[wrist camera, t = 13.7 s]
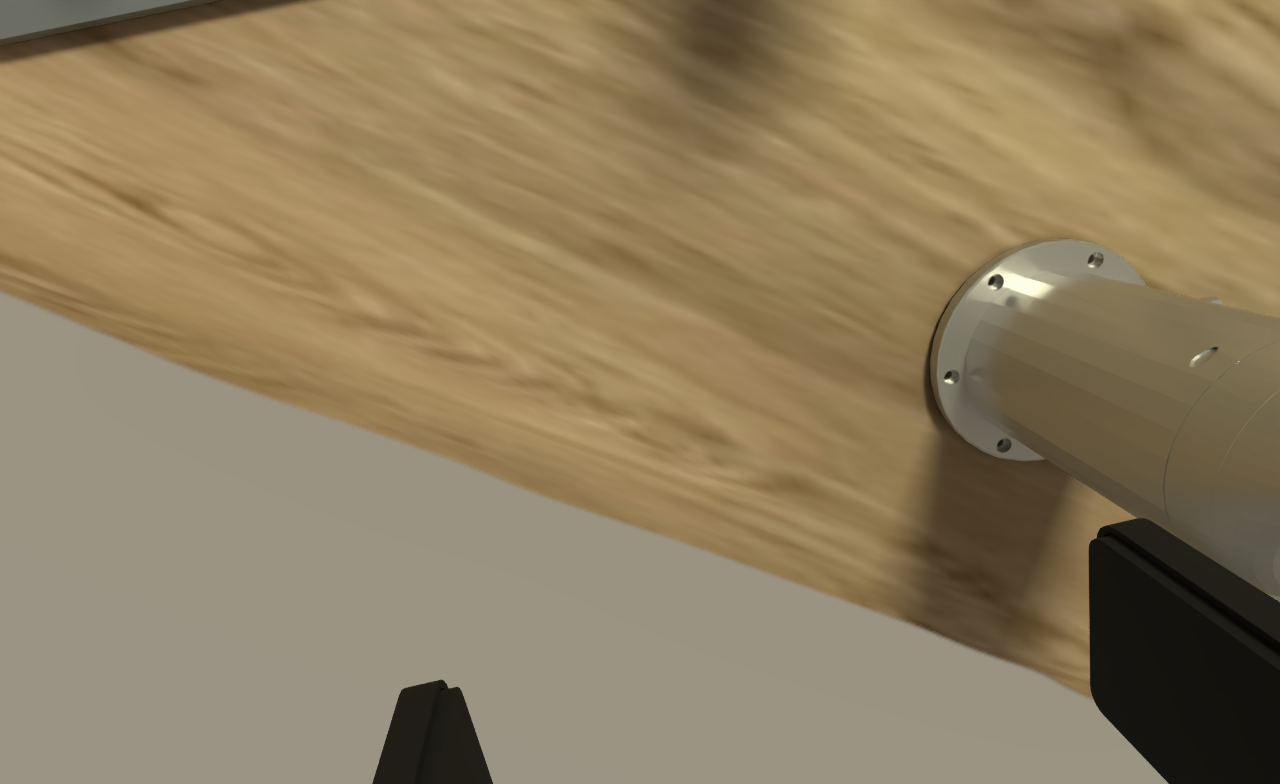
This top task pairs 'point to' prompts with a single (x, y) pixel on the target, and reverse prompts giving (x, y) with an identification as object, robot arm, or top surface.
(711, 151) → the top surface
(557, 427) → the top surface
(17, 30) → the slate tile
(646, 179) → the top surface
